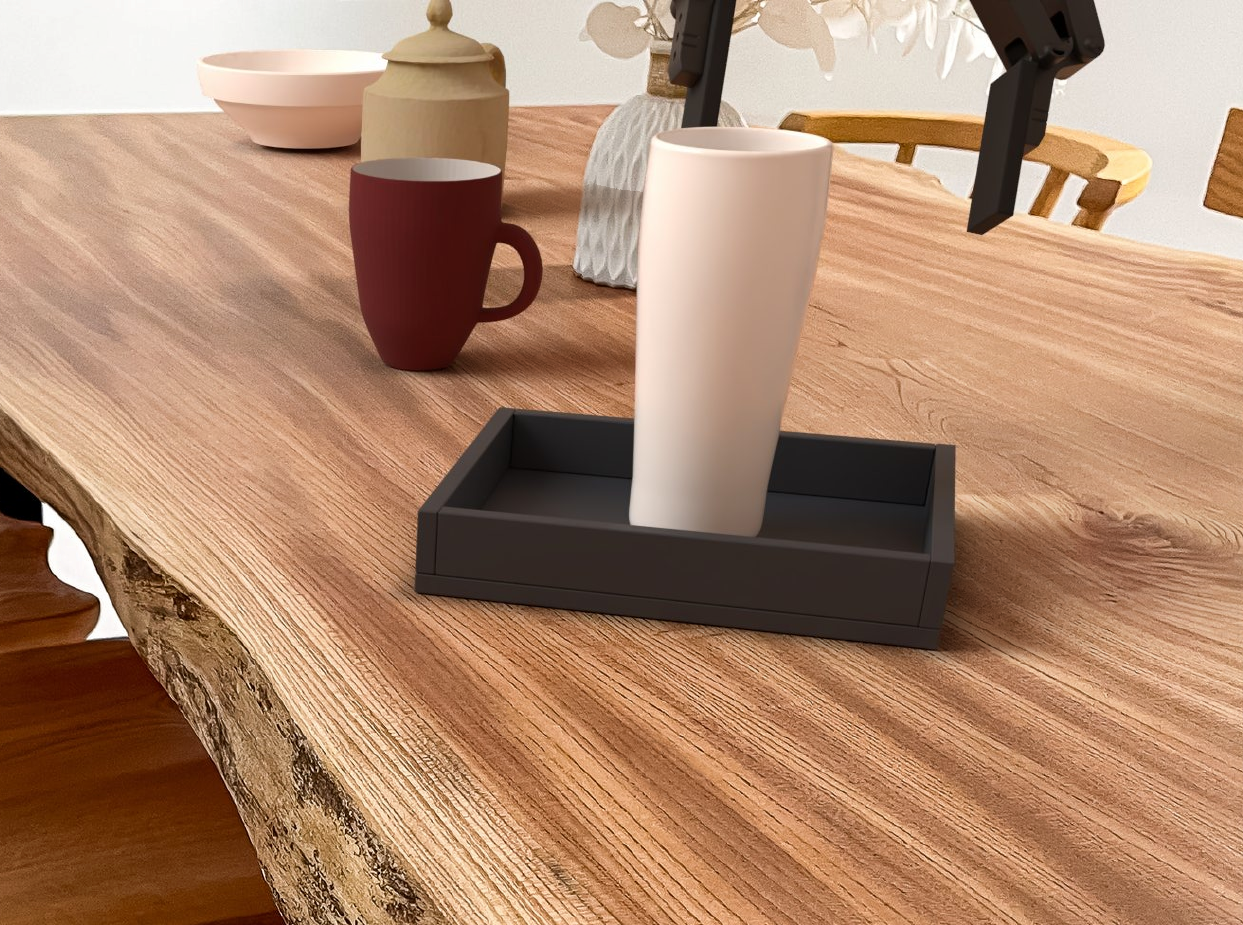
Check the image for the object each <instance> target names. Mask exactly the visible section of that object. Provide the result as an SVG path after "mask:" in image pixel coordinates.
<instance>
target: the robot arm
mask: <svg viewBox="0 0 1243 925" xmlns="http://www.w3.org/2000/svg"><path fill="white" fill-rule="evenodd" d="M968 1H969V3H970V5H971V7H972V8H973V11H974V12H975V14H976V16H977V18H978V20H979V22H980V24H981V25H982V27H983V29H984V32H985V33H986V35H987V37H988V39H989V41H990V43H991V45H992V46H993V48H994V50H995V52H996V54H997V56H998V58H999V60H1000V61H1001V64H1002V66H1003V67H1004V69H1005V72H1003V73H1002V74H1001V75H1000V76H998V77H997V78H996V79H995V80H993V81H992V82H991V83H990V84H989V91H988V97H987V102H986V108H985V115H984V122H983V127H982V134H981V140H980V146H979V153H978V157H977V164H976V169H975V170H976V171H975V177H974V184H973V188H972V189H973V190H972V194H971V195H972V196H971V201H970V208H969V214H968V220H967V226H966V233H969V234H974V235H979V236H983V235H986V234H987V233H988V232H990V231H992V230H993V229H994V228H996V227H998V226H1000V225H1001V224H1003V223H1004V222H1006V221H1007V220H1009V219H1011V218H1012V217H1014V213H1015V208H1016V201H1017V197H1018V196H1017V195H1018V189H1019V183H1020V178H1021V172H1022V165H1023V160H1024V157H1025V156H1027V155H1028V154H1029V153H1031V152H1033V151H1034V150H1036V149H1037V148H1039V147H1040V145H1041V143H1042V142H1043V140H1044V138H1045V135H1046V132H1047V125H1048V123H1047V122H1048V119H1049V112H1050V107H1051V102H1052V94H1053V90H1054V83H1055V80H1059V81H1066V80H1068V79H1070V78H1072V76H1074V75H1076V73H1078V72H1079V71H1081V70H1082V69H1084V68H1085V67H1086V66H1088V65H1089V64H1090V63H1091V62H1093V61H1095V60H1096V59H1097V58H1099V57H1100V56H1101V55H1102V54H1103V52H1104V50H1105V46H1106V43H1105V37H1104V33H1103V29H1102V24H1101V21H1100V17H1099V14H1098V10H1097V7H1096V3H1095V0H968ZM736 6H737V0H670V4H669V12H670V15H671V17H672V18H673V20H675V21H674V27H673V36H672V41H671V48H670V54H669V56H670V57H669V60H668V67H667V74H668V79H669V84H670V85H675V86H679V87H684V88H686V94H685V99H684V100H685V101H684V107H683V113H682V120H681V126H680V129H682V128H694V127H718V122H719V117H720V110H721V103H722V96H723V91H724V84H725V77H726V70H727V65H728V64H727V63H728V58H729V51H730V45H731V39H732V34H733V33H732V32H733V26H734V20H735V13H736Z"/></svg>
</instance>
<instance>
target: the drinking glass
mask: <svg viewBox="0 0 1243 925" xmlns="http://www.w3.org/2000/svg"><path fill="white" fill-rule="evenodd" d="M649 144H650V145H649V152H648V158H647V165H646V171H645V177H644V178H645V179H644V185H643V192H642V201H641V211H640V221H639V229H638V230H639V233H638V246H637V261H636V262H637V263H636V264H637V265H636V266H637V267H636V296H635V297H636V303H635V304H636V307H635V358H634V360H635V362H634V363H635V365H634V366H635V367H634V374H635V375H634V407H633V410H634V411H633V414H634V415H633V418H634V446H633V477H632V487H631V497H630V506H629V521H630V525H637V526H647V527H657V528H667V529H677V530H688V531H698V532H708V533H718V534H728V535H738V536H749V537H756V536H757V535H758V533H759V532H760V529H761V526H762V522H763V516H764V509H765V502H766V495H767V489H768V483H769V478H770V474H771V469H772V465H773V460H774V456H775V451H776V447H777V442H778V438H779V433H780V431H781V428H782V424H783V421H784V420H783V419H784V416H785V411H786V406H787V402H788V397H789V394H790V390H791V385H792V380H793V376H794V372H795V368H796V363H797V360H798V359H797V358H798V355H799V351H800V347H801V342H802V337H803V333H804V328H805V324H806V321H807V316H808V312H809V307H810V303H811V298H812V296H813V295H812V294H813V291H814V286H815V281H816V277H817V271H818V267H819V262H820V257H821V251H822V245H823V239H824V234H825V227H826V221H827V214H828V205H829V197H830V188H831V179H832V167H833V157H834V149H835V147H834V143H833V142H832V141H831V140H830V139H828V138H826V137H824V136H820V135H817V134H812V133H807V132H801V131H796V130H787V129H778V128H765V127H751V126H749V127H748V126H717V127H694V128H682V129H681V128H673V129H668V130H664V131H660V132H657V133H655V134H654V135H653V136H652V137H651V139H650V143H649Z"/></svg>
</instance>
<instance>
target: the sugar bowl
mask: <svg viewBox="0 0 1243 925" xmlns="http://www.w3.org/2000/svg"><path fill="white" fill-rule="evenodd" d="M453 12H454V11H453V6H452V2H451V1H450V0H430V1H429V3H428V5H427V8H426V12H425V16H426V19H427V21H428V22H429V28H428V29H427V30H425V31H422V32H419V33H416V34H414V35H411V36H408V37H406V38H403V39H401V40H399V41H398V42H397V43H395V45H394V46H393V47H392V48H391V50H390V51H387V52H385V53H384V54H383V55H382V56H381V57H382V59H385V60H388V62H387V66H386V69H385V71H384V73H383V74H382V76H381V77H380V78H379V79H378V80H377V81H376V82H375V83H373V84H371V85H369V86H367V87H365V89H364V95H363V111H362V133H361V137H360V163H362V162H366V161H372V160H380V159H391V158H448V159H461V160H470V161H477V162H482V163H487V164H491V165H494V166H497V167H499V168H500V169H501V170H502V200H501V209H502V208H503V199H504V186H505V176H506V175H505V174H506V163H507V153H508V152H507V151H508V136H509V118H510V90H509V89H508V88H507V87H506V86H507V68H506V61H505V60H506V59H505V56H504V54H503V52H502V50H501V49H500V47H498V46H497V45H495V44H493V43H491V42H481V43H480V42H479V41H477V39H474V38H473V37H472V38H471V37H469V36H466V35H464V34H461V33H458V32H455V31H454V30H451V29H450V28H449V27H448V26H449V24H450V22H451V20H452V18H453V15H454V13H453Z"/></svg>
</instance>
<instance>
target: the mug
mask: <svg viewBox="0 0 1243 925" xmlns="http://www.w3.org/2000/svg"><path fill="white" fill-rule="evenodd" d="M348 193H349V194H348V196H349V197H348V223H349V234H350V241H351V249H352V256H353V263H354V272H355V279H356V285H357V293H358V301H359V306H360V311H361V312H360V313H361V315H362V319H363V322H364V324H365V326H366V329H367V331H368V335H369V336H370V338H371V341H372V343H373V345H374V348H375V349H376V351H377V353H378V355H379V358H380V360H381V362H382V363H383V364H385V365H387V367H392V368H395V369H399V370H406V371H435V370H442V369H446V368H448V367H450V366H452V365H453V364H454V363H455V362H456V360H457V358H459V355H460V353H461V352H462V350H463V348H464V347H465V345H466V343H467V342H468V339H469V338H470V336H471V334H472V332H474V329H475V328H476V326H477V324H479V323H481V324H484V323H485V324H487V323H495V322H502V321H507V320H509V319H512V318H514V317H516V316H519V315H520V314H522V313H523V312H524V311H526V310H527V309H528V308H530V306H531V305H532V304H533V302H534V301H535V299H536V298H537V296H538V293H539V291H540V289H541V286H542V281H543V274H544V267H543V259H542V255H541V251H540V249H539V247H538V244H537V243H536V241H535V239H534V238H533V236H532V235H531V234H530V233H529V232H528V231H527V230H526V229H524V228H523V227H522V226H520V225H517V224H515V223H511V222H503V221H502V208H501V200H502V170H501V169H500V168H499V167H497V166H494V165H491V164H487V163H482V162H477V161H470V160H461V159H448V158H391V159H380V160H372V161H366V162H362V163H361V162H358V163H355V164H353V165H352V166H351V167H350V174H349V192H348ZM502 201H503V200H502ZM497 244H503V245H507V246H510V247H512V249H514V251H516V252H517V254H518V256H519V257H520V260H521V262H522V267H523V281H522V286H521V289H520V292H519V294H518V295H517V297H516V298H515V299H514V300H513V301H512V302H510V303H508V304H506V305H503V306H496V307H484V299H485V294H486V289H487V284H488V279H489V275H490V272H491V266H492V262H493V259H494V255H495V251H496V248H497Z"/></svg>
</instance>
